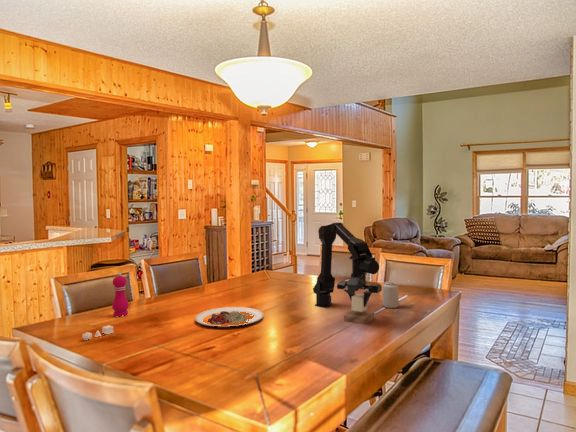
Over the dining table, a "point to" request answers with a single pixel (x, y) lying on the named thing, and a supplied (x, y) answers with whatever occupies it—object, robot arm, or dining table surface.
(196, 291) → the dining table surface
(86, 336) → the game pieces
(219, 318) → the plated food
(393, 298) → the can
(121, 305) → the pepper mill
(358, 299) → the block
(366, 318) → the plinth
